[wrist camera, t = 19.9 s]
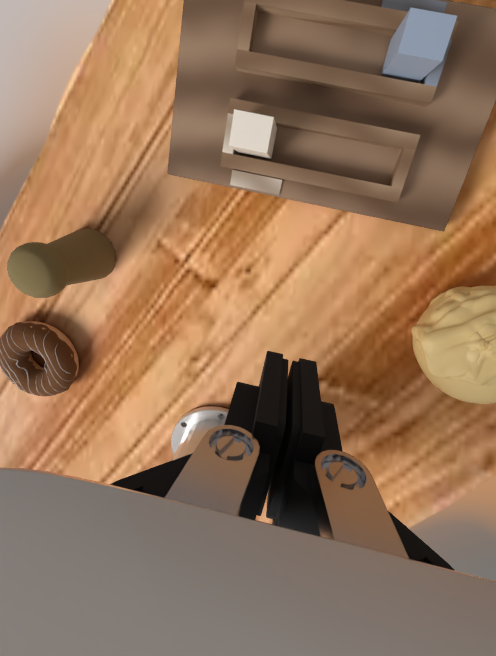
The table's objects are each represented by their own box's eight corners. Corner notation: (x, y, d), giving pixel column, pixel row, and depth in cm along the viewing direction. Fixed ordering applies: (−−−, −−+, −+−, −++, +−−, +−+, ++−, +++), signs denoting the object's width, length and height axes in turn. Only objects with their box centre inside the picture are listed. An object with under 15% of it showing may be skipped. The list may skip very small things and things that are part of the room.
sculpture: (491, 253, 36) (566, 277, 26) (527, 347, 39) (606, 400, 29) (385, 304, 40) (415, 342, 30) (426, 387, 43) (465, 447, 33)
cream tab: (271, 159, 34) (266, 153, 29) (238, 152, 34) (228, 145, 29) (277, 128, 33) (273, 117, 28) (243, 121, 33) (234, 109, 28)
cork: (66, 224, 41) (-10, 235, 31) (115, 232, 40) (55, 246, 30) (68, 274, 43) (-2, 300, 33) (115, 282, 43) (59, 311, 33)
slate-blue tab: (417, 83, 30) (442, 61, 25) (380, 76, 30) (397, 52, 25) (429, 46, 29) (457, 15, 24) (390, 39, 29) (410, 7, 24)
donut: (89, 331, 46) (71, 343, 42) (81, 396, 50) (64, 412, 46) (12, 306, 46) (-13, 316, 42) (10, 373, 50) (-13, 387, 46)
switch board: (436, 229, 36) (449, 232, 33) (173, 174, 37) (162, 173, 34) (514, 25, 30) (540, 6, 27) (194, -32, 31) (183, -57, 28)
